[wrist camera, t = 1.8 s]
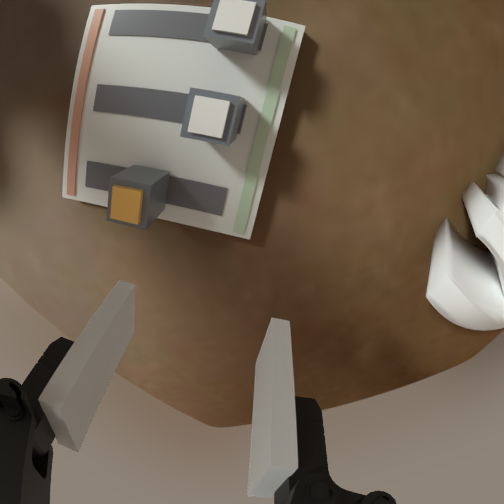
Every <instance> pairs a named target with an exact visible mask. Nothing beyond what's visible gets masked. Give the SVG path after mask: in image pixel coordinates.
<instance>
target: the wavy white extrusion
mask: <svg viewBox="0 0 504 504" xmlns="http://www.w3.org/2000/svg"><path fill="white" fill-rule="evenodd" d="M495 172H496V173H494V174H489V175H487V178H486V195H485V193H484V192H483V191H482V190H481V189H480V188H479V187H478V186H477V185H476V184H475V183H474V182H472V183H470V184H469V185H468V186H467V188H466V189H465V191H464V193H463V195H462V199H463V202H464V204H465V207H466V210H467V212H468V215H469V218H470V221H471V223H472V226H473V229H474V232H475V235H476V237H477V238H478V239H480V240H481V241H482V242H483V243H484V244H485V245H486V246H487V248H488V249H489V250H490V251H484V250H482V249H480V248H478V247H476V246H474V245H473V244H471V243H470V242H468V241H467V240H466V239H465V238H464V237H463V236H462V235H461V234H460V233H459V232H458V231H457V230H456V229H455V228H454V226H453V225H452V224H451V222H450V221H449V219H448V218H447V217H446V218H445V219H444V221H443V222H442V223H441V224H440V226H439V227H438V228H437V230H436V232H435V233H434V240H433V249H432V258H431V266H430V273H429V280H428V286H427V292H426V298H427V299H428V300H429V302H430V303H431V304H432V306H433V307H434V308H435V309H436V310H437V311H438V312H439V313H440V314H441V315H442V316H443V317H445V318H446V319H448V320H449V321H451V322H452V323H454V324H456V325H458V326H461V327H464V328H467V329H473V330H483V331H484V330H495V329H501V328H504V152H503V154H502V156H501V157H500V159H499V161H498V163H497V165H496V167H495Z"/></svg>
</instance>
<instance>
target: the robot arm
mask: <svg viewBox="0 0 504 504" xmlns="http://www.w3.org/2000/svg"><path fill="white" fill-rule="evenodd" d="M134 306H135V284H131V283H127V282H124V281H120V280H118V282H117V283H116V284H115V286H114V287H113V288H112V290H111V291H110V292H109V294H108V295H107V297H106V298H105V299H104V301H103V302H102V303H101V305H100V306H99V308H98V309H97V310H96V312H95V313H94V315H93V316H92V317H91V319H90V320H89V322H88V323H87V325H86V326H85V327H84V329H83V330H82V332H81V333H80V335H79V336H78V338H77V339H76V341H75V342H73V341H71V340H68V339H66V338H63V337H60V338H59V339H57V340H56V341H54V342H52V343H51V344H50V345H49V346H48V348H47V349H46V351H45V352H44V354H43V356H41V358H40V359H39V361H38V363H37V364H36V365H35V366H34V368H33V369H32V371H31V372H30V374H29V375H28V376H27V378H26V379H25V381H24V382H23V384H22V385H21V384H20V383H19V382H18V381H16V380H13V379H11V378H2V379H0V504H50V483H51V469H52V459H53V448H52V446H51V444H52V442H53V440H54V438H55V437H56V439H57V441H58V443H59V444H61V445H63V446H65V447H67V448H70V449H72V450H74V451H77V452H78V451H79V449H80V447H81V444H82V442H83V439H84V437H85V435H86V433H87V430H88V428H89V426H90V424H91V422H92V419H93V417H94V415H95V413H96V410H97V408H98V406H99V404H100V402H101V400H102V397H103V395H104V393H105V391H106V389H107V387H108V385H109V383H110V380H111V379H112V377H113V374H114V372H115V370H116V368H117V366H118V364H119V362H120V360H121V358H122V356H123V354H124V352H125V350H126V348H127V346H128V344H129V342H130V340H131V338H132V336H133V335H134ZM251 432H252V433H251V448H250V463H249V477H248V492H247V496H252V497H262V498H270V497H272V496H273V495H274V496H275V497H274V504H396V501H395V499H394V498H393V497H392V496H391V495H390V494H388V493H386V492H383V491H374V492H370V493H369V494H368V495H362V494H358V493H354V492H351V491H347V490H345V489H342V488H340V487H339V486H338V485H336V484H335V482H333V480H332V479H331V477H330V475H329V471H328V464H327V454H326V445H325V436H324V428H323V418H322V411H321V409H320V407H319V405H318V404H317V402H316V400H315V399H312V398H304V397H297V396H295V391H294V375H293V360H292V346H291V332H290V321H287V320H282V319H277V318H273V317H272V318H271V321H270V324H269V326H268V329H267V332H266V335H265V338H264V341H263V344H262V346H261V349H260V352H259V355H258V358H257V360H256V365H255V382H254V399H253V415H252V431H251Z"/></svg>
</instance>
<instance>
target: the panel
mask: <svg viewBox="0 0 504 504" xmlns="http://www.w3.org/2000/svg"><path fill="white" fill-rule="evenodd" d="M304 30H305V26H303V25H300V24H296V23H292V22H288V21H283V20H279V19H275V18H270V17H266V0H213V3H212V6H211V8H208V7H198V6H187V5H171V4H109V5H94V6H92V7H91V10H90V13H89V17H88V20H87V24H86V28H85V32H84V35H83V39H82V44H81V48H80V52H79V57H78V62H77V66H76V71H75V77H74V82H73V88H72V94H71V101H70V108H69V115H68V123H67V132H66V142H65V154H64V170H63V197H64V198H69V199H73V200H78V201H82V202H87V203H92V204H96V205H101V206H105V207H108V193H109V181H110V177H111V176H113V175H115V174H117V173H119V172H121V171H123V170H125V169H127V168H129V167H131V166H133V165H139V166H145V167H150V168H155V169H160V170H165V171H170V177H169V183H168V189H167V196H166V203H165V209H164V211H163V212H162V213H161V214H160V215H159V216H158V217H157V218H158V219H163V220H167V221H172V222H176V223H180V224H185V225H189V226H193V227H198V228H202V229H206V230H211V231H215V232H219V233H224V234H228V235H232V236H236V237H241V238H245V239H249V240H250V237H251V234H252V230H253V226H254V222H255V218H256V214H257V210H258V206H259V202H260V198H261V195H262V191H263V187H264V183H265V179H266V175H267V171H268V167H269V164H270V160H271V156H272V152H273V148H274V144H275V140H276V137H277V133H278V129H279V125H280V121H281V117H282V113H283V110H284V106H285V102H286V98H287V94H288V90H289V87H290V83H291V79H292V75H293V71H294V68H295V64H296V60H297V56H298V52H299V49H300V45H301V41H302V37H303V33H304Z"/></svg>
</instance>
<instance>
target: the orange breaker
mask: <svg viewBox="0 0 504 504" xmlns="http://www.w3.org/2000/svg"><path fill="white" fill-rule="evenodd" d="M169 177H170V171H165V170H160V169H155V168H150V167H145V166H139V165H133V166H131V167H129V168H127V169H125V170H123V171H121V172H119V173H117V174H115V175H113V176H111V177H110V181H109V193H108V207H107V221H111V222H116V223H120V224H124V225H128V226H132V227H137V228H141V229H145V230H146V229H147V228H148V227H149V226H150V225H151V224H152V222H153V221H154V220H155V219H156V218H157V217H158V216H159V215H160V214H161V213H162V212H163V211H164V209H165V203H166V196H167V189H168V183H169Z"/></svg>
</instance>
